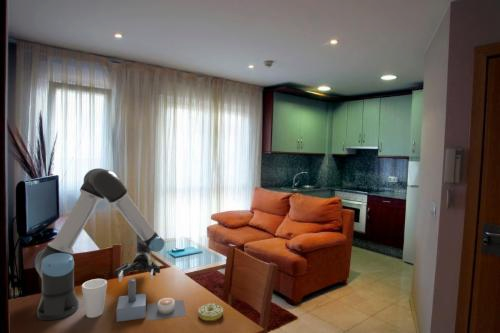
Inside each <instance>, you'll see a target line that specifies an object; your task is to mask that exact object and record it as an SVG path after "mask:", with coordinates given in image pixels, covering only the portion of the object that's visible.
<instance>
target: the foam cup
mask: <svg viewBox="0 0 500 333" xmlns="http://www.w3.org/2000/svg"><path fill="white" fill-rule="evenodd" d="M107 288H108V281H107V279H103V278H95V279H94V278H93V279H90V280H87V281H85V282H83V283H82V284H81V292H82V296H83V304H84V309H85V310H84V311H85V315H86V317H87V318H93V319H94V318H98V317H99V316H102V314H103V313H104V308H105V302H106V301H105V299H106V294H107Z"/></svg>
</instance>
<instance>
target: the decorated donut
mask: <svg viewBox="0 0 500 333" xmlns="http://www.w3.org/2000/svg"><path fill="white" fill-rule="evenodd" d="M197 311H198V312H197V313H198V314H197V315H198V316H199V318H200V319H201V320H203V321H205V322H215V321H218V320H219V319H220V318H222V316H223V314H224V308H223V307H222V306H221V305H219V304H217V303H211V302H208V303H205V304H204V305H201V306H200V307H199V308H198V310H197Z"/></svg>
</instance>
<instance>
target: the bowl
mask: <svg viewBox="0 0 500 333" xmlns="http://www.w3.org/2000/svg"><path fill="white" fill-rule="evenodd" d="M175 301H176V300H175V298H171V297H164V298H161V299H159V300H158V302H157V303H158V312H159V313H161V314H168V313H171V312H173V311H174V304H175Z"/></svg>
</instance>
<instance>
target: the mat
mask: <svg viewBox="0 0 500 333" xmlns="http://www.w3.org/2000/svg"><path fill="white" fill-rule="evenodd" d="M174 301H175V304H174V311H173V312H171V313H168V314H161V313H159V312H158V302H153V303H146V321H147V322H148V321H157V320H164V319H165V320H166V319H171V318H172V319H173V318H178V317H179V318H180V317H187V312H186V306H185V301H184V299H180V300H179V299H177V300H174Z"/></svg>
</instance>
